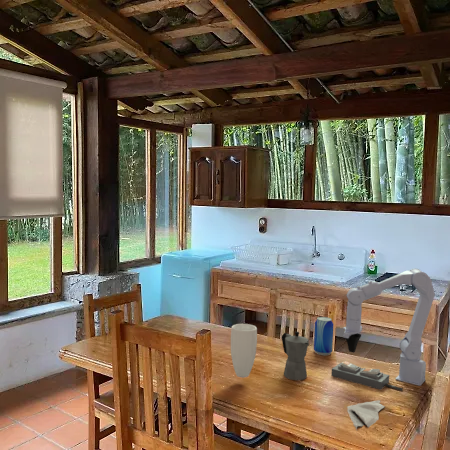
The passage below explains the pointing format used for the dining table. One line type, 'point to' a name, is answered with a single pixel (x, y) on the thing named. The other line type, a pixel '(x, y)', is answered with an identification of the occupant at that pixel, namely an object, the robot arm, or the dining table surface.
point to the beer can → (323, 336)
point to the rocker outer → (349, 365)
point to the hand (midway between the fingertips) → (351, 351)
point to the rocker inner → (371, 371)
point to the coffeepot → (295, 356)
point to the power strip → (363, 377)
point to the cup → (243, 348)
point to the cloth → (365, 413)
